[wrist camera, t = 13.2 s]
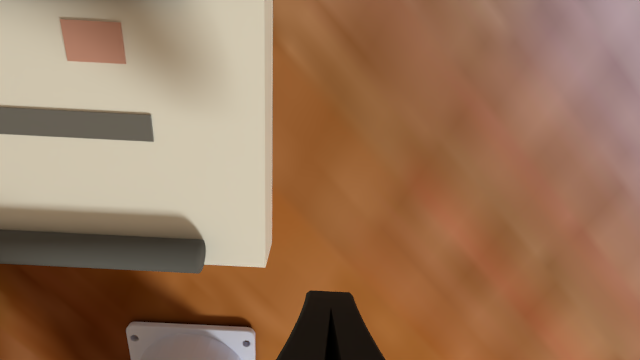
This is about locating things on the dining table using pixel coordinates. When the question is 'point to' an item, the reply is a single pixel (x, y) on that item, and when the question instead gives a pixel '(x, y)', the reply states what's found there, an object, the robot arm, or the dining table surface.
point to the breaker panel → (139, 121)
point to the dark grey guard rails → (102, 251)
